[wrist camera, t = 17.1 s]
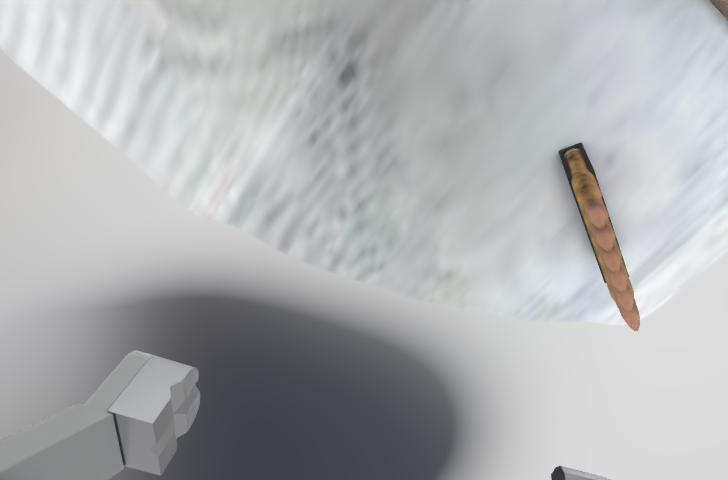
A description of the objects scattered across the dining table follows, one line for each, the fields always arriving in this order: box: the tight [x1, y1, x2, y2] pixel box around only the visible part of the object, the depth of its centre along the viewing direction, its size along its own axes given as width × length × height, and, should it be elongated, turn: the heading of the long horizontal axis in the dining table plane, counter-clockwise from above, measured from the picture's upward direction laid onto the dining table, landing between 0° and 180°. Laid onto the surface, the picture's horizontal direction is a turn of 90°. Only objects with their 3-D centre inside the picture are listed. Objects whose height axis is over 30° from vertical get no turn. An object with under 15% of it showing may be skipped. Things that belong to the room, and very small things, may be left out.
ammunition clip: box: [559, 143, 640, 331], centre depth 37 cm, size 11×2×12 cm, turn 28°
